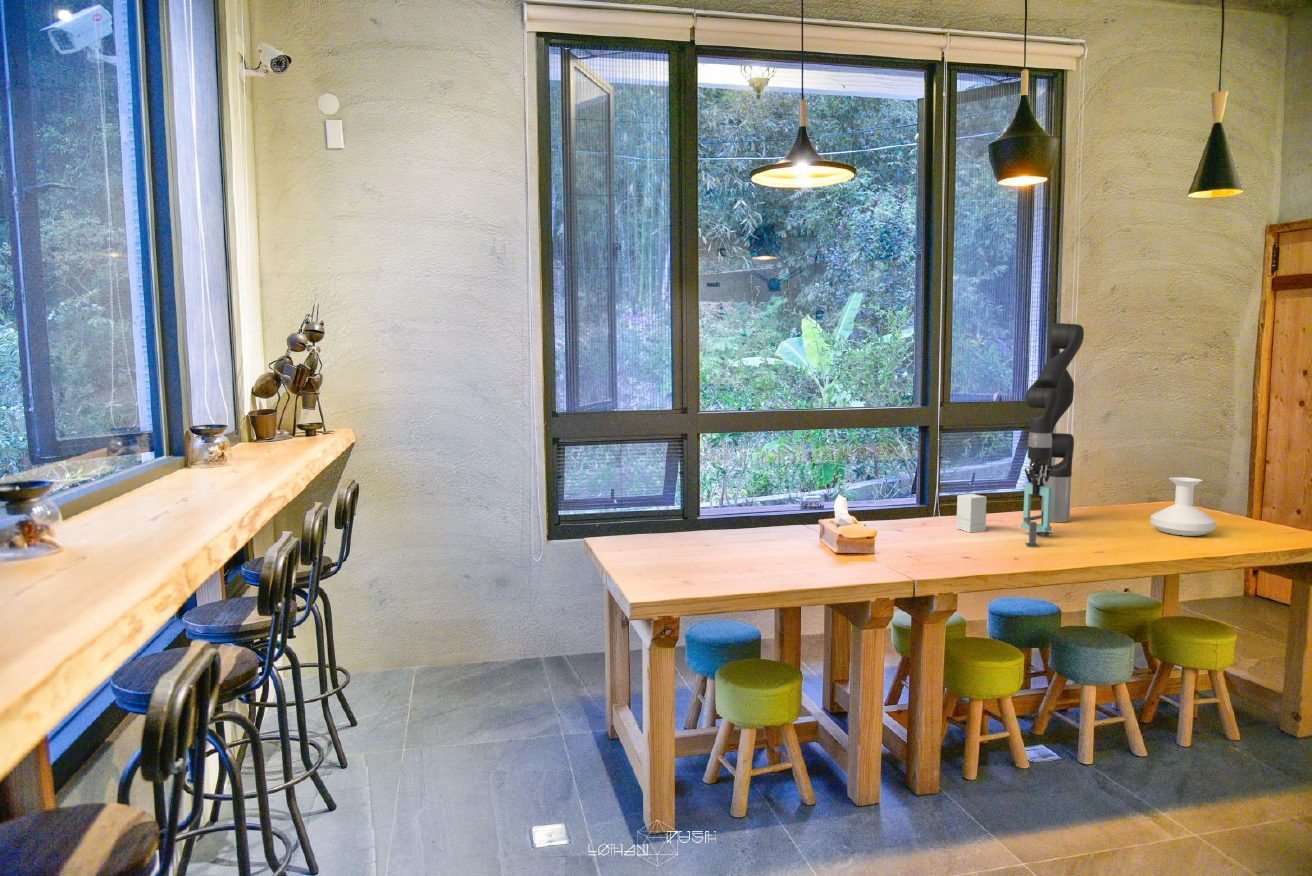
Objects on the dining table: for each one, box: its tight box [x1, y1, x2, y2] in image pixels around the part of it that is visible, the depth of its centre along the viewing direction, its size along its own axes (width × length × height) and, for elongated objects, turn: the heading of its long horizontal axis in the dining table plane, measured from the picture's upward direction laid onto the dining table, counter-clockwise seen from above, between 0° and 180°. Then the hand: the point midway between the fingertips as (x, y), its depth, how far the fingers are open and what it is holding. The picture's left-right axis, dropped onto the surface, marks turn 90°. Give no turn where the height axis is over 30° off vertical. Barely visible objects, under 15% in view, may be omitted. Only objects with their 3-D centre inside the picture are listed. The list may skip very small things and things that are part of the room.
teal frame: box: [1020, 483, 1053, 532], centre depth 307 cm, size 4×9×15 cm, turn 34°
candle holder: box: [1149, 476, 1217, 537], centre depth 312 cm, size 20×20×19 cm
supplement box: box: [956, 493, 987, 533], centre depth 317 cm, size 7×7×13 cm
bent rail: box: [1024, 511, 1053, 548], centre depth 303 cm, size 8×26×8 cm, turn 146°
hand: (1037, 494), depth 307 cm, fingers closed on teal frame, 1 cm apart
